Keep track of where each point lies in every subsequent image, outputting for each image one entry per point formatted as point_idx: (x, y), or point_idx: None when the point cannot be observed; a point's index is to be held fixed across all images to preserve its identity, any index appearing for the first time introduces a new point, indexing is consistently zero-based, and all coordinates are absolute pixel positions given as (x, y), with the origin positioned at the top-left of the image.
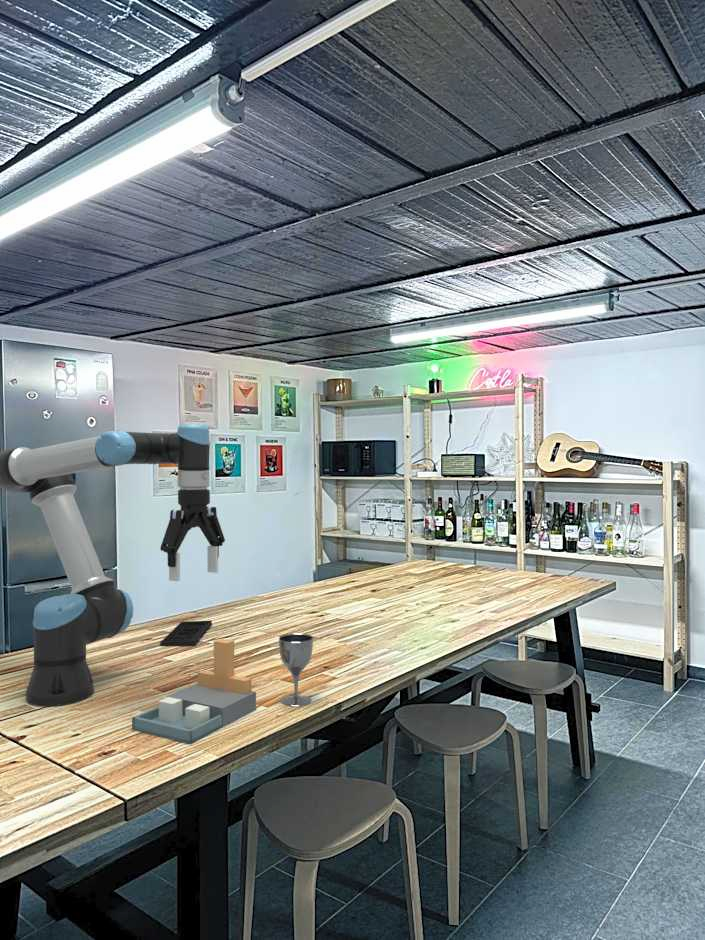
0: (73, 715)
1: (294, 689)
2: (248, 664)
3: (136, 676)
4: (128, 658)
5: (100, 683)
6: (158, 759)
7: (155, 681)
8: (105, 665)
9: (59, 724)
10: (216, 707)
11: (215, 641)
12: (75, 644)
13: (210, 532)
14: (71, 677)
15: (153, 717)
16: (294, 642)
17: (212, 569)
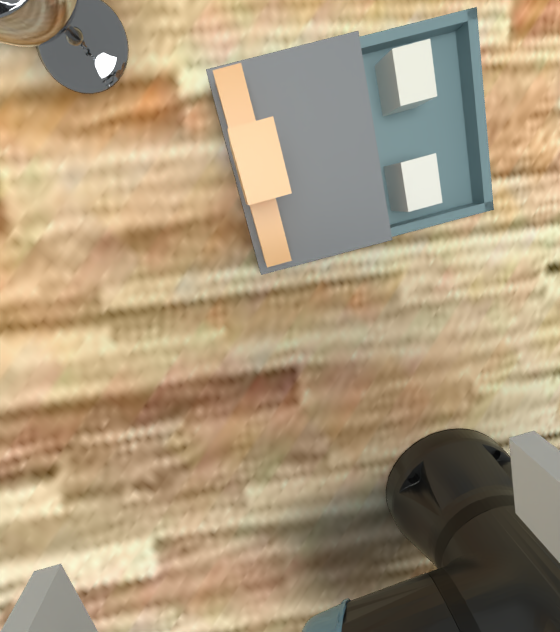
0: (496, 368)
1: (72, 32)
2: (11, 402)
3: (278, 495)
4: (222, 610)
5: (356, 501)
6: (551, 4)
7: (268, 440)
8: (284, 595)
9: (538, 342)
10: (362, 56)
11: (288, 183)
12: (522, 535)
13: None
14: (486, 469)
15: (427, 215)
16: None
17: (66, 619)
